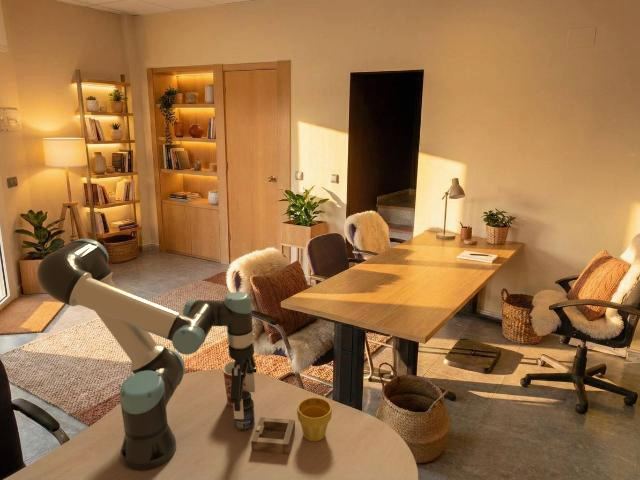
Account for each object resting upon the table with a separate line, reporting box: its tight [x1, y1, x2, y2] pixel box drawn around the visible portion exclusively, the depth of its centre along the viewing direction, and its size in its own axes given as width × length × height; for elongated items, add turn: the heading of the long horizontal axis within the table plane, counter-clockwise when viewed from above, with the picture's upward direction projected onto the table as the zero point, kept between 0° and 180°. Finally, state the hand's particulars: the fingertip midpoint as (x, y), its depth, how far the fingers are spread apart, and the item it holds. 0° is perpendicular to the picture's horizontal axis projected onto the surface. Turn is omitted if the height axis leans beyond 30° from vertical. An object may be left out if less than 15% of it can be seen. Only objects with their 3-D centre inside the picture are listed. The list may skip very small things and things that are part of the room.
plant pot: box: [297, 396, 333, 442], centre depth 148 cm, size 10×10×10 cm
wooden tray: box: [250, 416, 296, 455], centre depth 147 cm, size 11×11×4 cm
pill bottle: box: [234, 391, 256, 432], centre depth 152 cm, size 6×6×11 cm
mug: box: [222, 360, 248, 409], centre depth 165 cm, size 13×9×14 cm
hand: (245, 404), depth 152 cm, fingers open, 13 cm apart
